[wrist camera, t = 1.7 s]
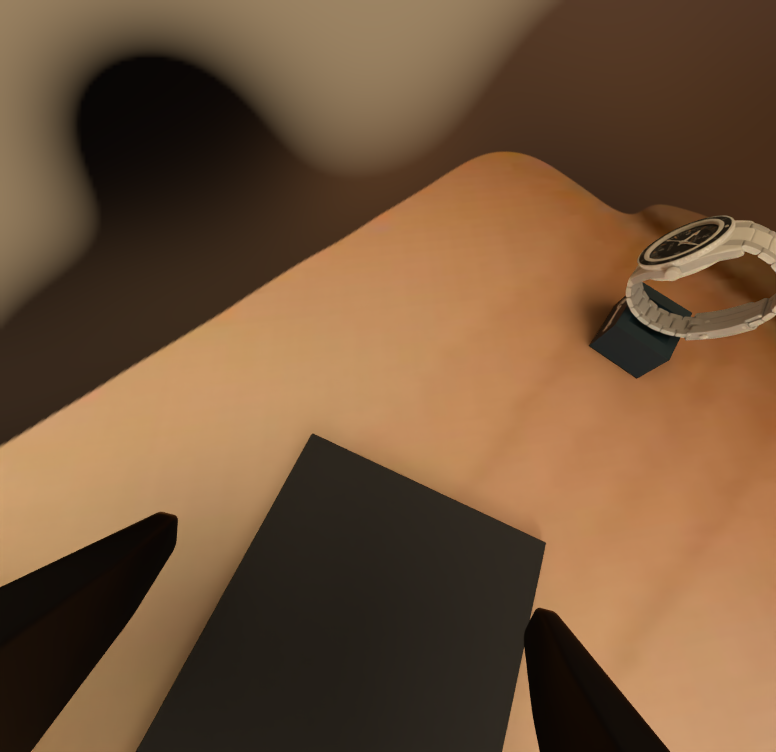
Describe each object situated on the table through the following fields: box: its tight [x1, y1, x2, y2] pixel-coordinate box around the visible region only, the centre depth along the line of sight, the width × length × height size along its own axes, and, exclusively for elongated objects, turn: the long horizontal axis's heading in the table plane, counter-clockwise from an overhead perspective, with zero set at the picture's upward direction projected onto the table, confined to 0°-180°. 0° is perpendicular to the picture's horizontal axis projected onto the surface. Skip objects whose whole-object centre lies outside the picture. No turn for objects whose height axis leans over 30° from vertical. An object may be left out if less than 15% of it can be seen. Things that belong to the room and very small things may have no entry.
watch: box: [589, 216, 776, 378], centre depth 25 cm, size 6×8×11 cm
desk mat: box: [136, 434, 546, 752], centre depth 19 cm, size 20×16×1 cm
